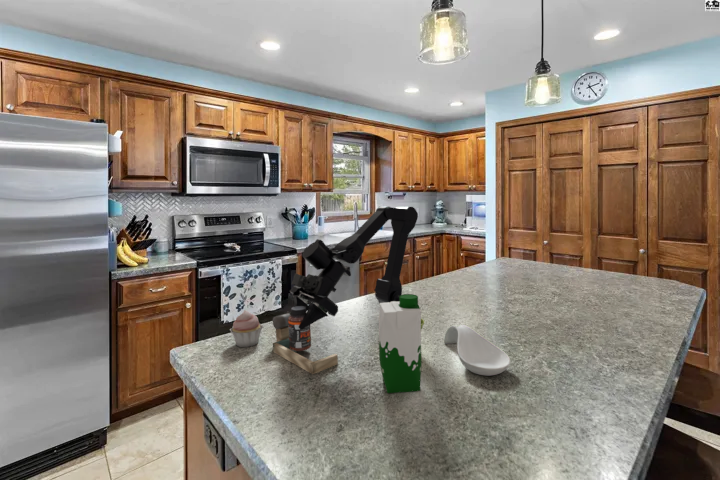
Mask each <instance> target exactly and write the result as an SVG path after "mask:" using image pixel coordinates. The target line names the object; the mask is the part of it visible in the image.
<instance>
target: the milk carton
mask: <svg viewBox="0 0 720 480" xmlns="http://www.w3.org/2000/svg"><path fill="white" fill-rule="evenodd" d="M378 308H379V309H378V310H379V312H378V353H379V357H378V359H379V366H380V371H381V375H382V376H381V377H382V380H383V383H384V386H385V390H386V393H387V394H396V393H397V394H398V393H411V392H412V393H413V392H420V391H421V381H422V380H421V378H422V329H421V318H422V310H421V308H420V305H419V296H418V295H417V294H413V293H412V294H410V293H406V294H405V293H404V294H402V295H400V297H399V301H397V302H396V301H391V302H386V303H380V304H379V307H378Z"/></svg>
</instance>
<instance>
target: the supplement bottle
mask: <svg viewBox="0 0 720 480" xmlns="http://www.w3.org/2000/svg"><path fill="white" fill-rule="evenodd" d="M290 310H291V312H290V316H289V318H288V327H289V345H290V348H289V349H290V350H292V351H294V352H304V351H306V350H309V349H310V348H311V347H312V334H311V333H312V332H311V331H312V330H311V324H310V325H309V326H307V327H305V328H304V329H302V330H301V329H300V328H299V325H300V323H301V321H302V320H303V318H304V316H305V315H306V313H307V311H306V307H304V306H296V307H293V306H292V307H291V309H290ZM291 313H292V314H291Z"/></svg>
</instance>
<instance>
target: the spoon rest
mask: <svg viewBox="0 0 720 480" xmlns="http://www.w3.org/2000/svg"><path fill="white" fill-rule="evenodd" d="M443 344H447V345H450V344H451V345H452V344H456V346H457V347H456V350H457V357H458V359H459V361H460V363H461V364H462V365H463V366H464V367H465V368H466V369H467V370H468V371H469V372H472V373H473V374H476V375H480V376H487V377H488V376H489V377H490V376H497V375H499V374H501V373H503V372H505V371H506V370H507V369H508V368H509V367H510V366H511V361H512V360H511V358H510V356H509V355H508V354H507V352H505V351H504V350H502V349H501V348H500V347H498V346H497V345H495V344H494V343H492V342H491V341H490V340H488V339H487V338H485V337H484V336H482V335H481V334H480V333H478V332H477V331H476V330H475V329H473V328H471V327H470V326H468V325H466V324H460V325H451V326H449V327H448V328H447V330H446V332H445V333H444V339H443Z"/></svg>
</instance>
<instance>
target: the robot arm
mask: <svg viewBox="0 0 720 480" xmlns="http://www.w3.org/2000/svg"><path fill="white" fill-rule="evenodd" d="M418 213H419V212H417V210H416V208H415V207H414V206H396V207H391V206H387V205H386V206H379V207H377V208H376V210H375V212H374V213H373V214H372V215H371V216H370V217H369V218H368V219H366V221H365V222H364V223H363V224H362V225H361V226H359V228H358V229H357V230H356V231H355V232H354V233H353V234H352V235H350V236H348V237H346V238H344V239H343V240H341V241H339V242H338V243H337V244H335V246H334V247H331V248H329V247H328V246H327V245H326V244H325V243H324V241H323V240H322V239H319V238H317V239H316V240H315V241H313V242H311V243H310V244H309V245H308V246H306V247H305V248H304V250H303V251H302V258H304V260H306V262H308V263H309V264H310V265H311V266H312V267H313V268H315V269H316V270H321V271H320V273H318V275H316V274H315V275H313V274H310V273H308V274H307V275H306V276H305V275H302V274H298V273H294V275H293V279H292V282H291V285H293V286H292V287H291V289H289V292H290V293H291V294H292V298H293V301H294V302H293V306H292V308H293V307H296V306H304V307H306V315H305V316H304V318H303V320H302V321H301V323H300V325H299V328H300V329H301V330H302V329H304V328H305V327H307V326H309V325H310V326H311V325H312V324H314V323H315V322H318V321H320V320H321V319H323V318H325V317H328V316H329V315H330V316H332V317H335V316H336V315H337V313H338V312H339V306H338V305H337V304H336V303H335V301H333V300H331V298H329V296H330V295H331V293H332V292H333V293H335V292H336V290H337V288H336V286H337V284H338V283H339V282H340V280H341V279H342V277H343V276H347V277H351V276H352V273H351V269H350V268H351V267H350V266H348V265H345V264H343V263H346V264H355V263H357V262H358V261H359V259H360V258H361V256H362V255H363V253H364V251H365V247H366V246H367V244H368V243H369V242H370V240H371V239H372V238H373V237H374V236H375V235H377V233H378V232H379V231H380V230H381V229H382V227H384V225H385V224H387V222H388V221H389V220H390V225H391V228H392V231H393V233H392V238H391V243H390V248H389V252H388V258H387V262H386V266H385V270H384V275H383V276H382V277H381V278H377V279H376V282H375V288H374V290H373V291H374V296H375V298H376V300H377V301H378V304H379V305H380V303H386V302H391V301H396V302H397V301H399V297H400V295H403V294H402V293H403V285H402V282H401V273H402V268H403V263H404V258H405V253H406V248H407V244H408V237H409V236H410V234H411V232H412V231H413V230H414V229H415V227H416V224H417V221H418V217H419V214H418ZM291 314H292V313H291V312H290V315H291Z"/></svg>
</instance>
